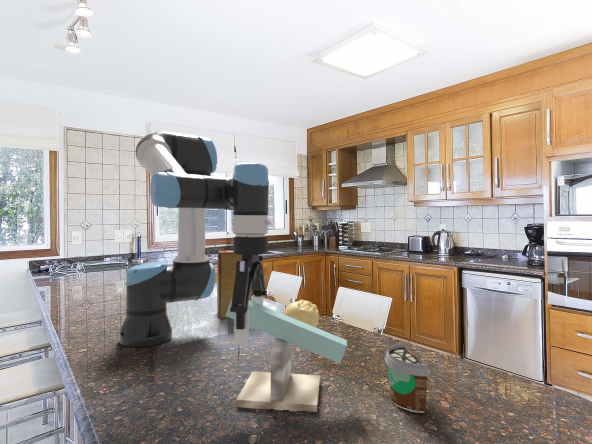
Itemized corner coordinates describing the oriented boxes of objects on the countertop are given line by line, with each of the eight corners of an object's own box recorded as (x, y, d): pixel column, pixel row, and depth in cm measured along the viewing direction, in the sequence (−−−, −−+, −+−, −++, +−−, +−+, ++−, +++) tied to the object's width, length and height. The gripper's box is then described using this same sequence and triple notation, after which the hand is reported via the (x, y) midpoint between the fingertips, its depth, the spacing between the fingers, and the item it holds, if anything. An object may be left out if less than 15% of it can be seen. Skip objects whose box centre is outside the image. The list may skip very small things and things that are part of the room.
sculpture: (316, 339, 109) (316, 305, 109) (279, 336, 111) (279, 303, 111) (321, 328, 120) (321, 297, 120) (287, 326, 123) (287, 295, 123)
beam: (225, 315, 74) (231, 298, 74) (230, 311, 78) (236, 294, 78) (340, 363, 72) (346, 346, 72) (339, 357, 75) (346, 340, 75)
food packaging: (249, 310, 144) (249, 249, 143) (254, 316, 135) (254, 251, 134) (216, 312, 139) (216, 250, 139) (218, 319, 130) (219, 252, 130)
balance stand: (236, 407, 70) (237, 347, 69) (252, 377, 82) (252, 327, 82) (316, 412, 68) (317, 351, 68) (320, 381, 81) (320, 330, 81)
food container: (376, 387, 78) (377, 343, 78) (403, 387, 79) (403, 342, 78) (397, 419, 66) (397, 366, 66) (428, 418, 66) (429, 365, 66)
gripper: (254, 238, 63) (253, 356, 63) (277, 233, 88) (276, 317, 88) (213, 238, 64) (213, 354, 64) (248, 233, 88) (247, 316, 89)
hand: (250, 333), depth 76 cm, fingers open, 13 cm apart
